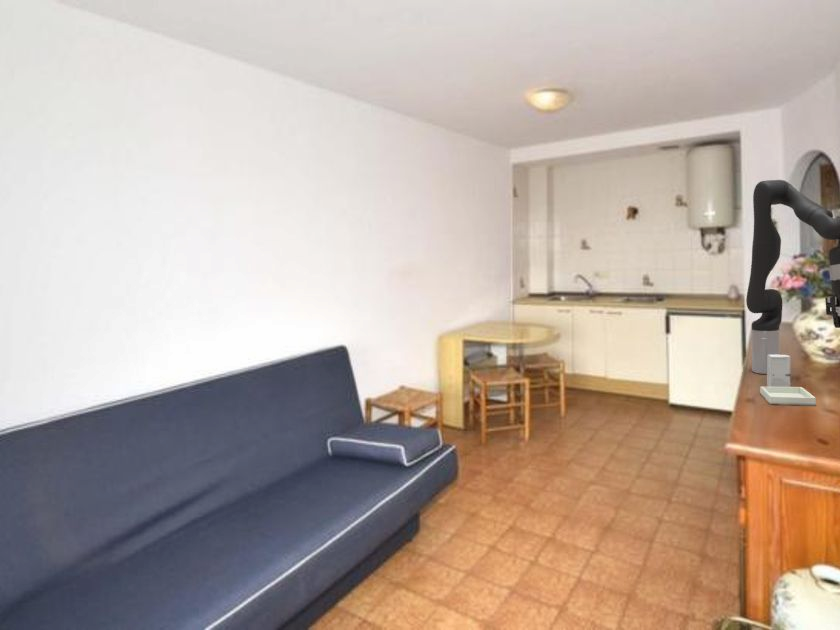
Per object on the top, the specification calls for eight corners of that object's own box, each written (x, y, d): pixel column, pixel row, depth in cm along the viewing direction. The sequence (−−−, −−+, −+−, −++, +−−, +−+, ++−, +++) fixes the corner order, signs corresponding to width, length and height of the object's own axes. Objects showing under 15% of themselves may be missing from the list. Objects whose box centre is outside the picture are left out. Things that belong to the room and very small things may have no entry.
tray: (760, 393, 179) (760, 386, 179) (801, 394, 175) (801, 387, 175) (770, 404, 166) (770, 396, 166) (815, 405, 162) (815, 398, 162)
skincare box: (770, 390, 182) (770, 356, 181) (766, 387, 186) (766, 354, 185) (791, 390, 180) (791, 356, 179) (786, 387, 184) (786, 354, 183)
